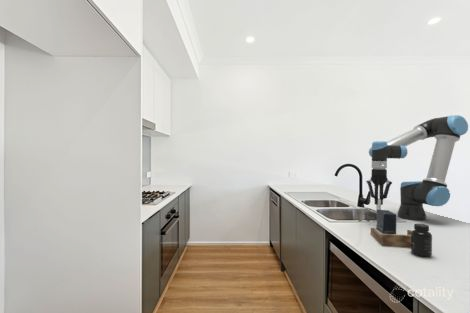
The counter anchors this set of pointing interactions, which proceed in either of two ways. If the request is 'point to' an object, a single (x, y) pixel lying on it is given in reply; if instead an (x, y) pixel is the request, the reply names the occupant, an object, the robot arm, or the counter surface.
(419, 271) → the counter surface
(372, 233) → the channel
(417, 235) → the supplement bottle
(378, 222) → the small box
